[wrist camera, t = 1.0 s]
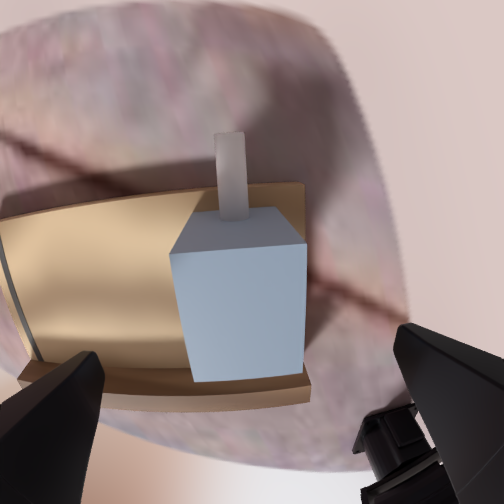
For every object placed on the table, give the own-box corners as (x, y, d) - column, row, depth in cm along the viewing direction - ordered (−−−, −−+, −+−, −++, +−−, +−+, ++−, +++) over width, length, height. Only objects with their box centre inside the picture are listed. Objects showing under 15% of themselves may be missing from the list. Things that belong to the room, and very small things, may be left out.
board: (296, 361, 19) (309, 402, 15) (46, 363, 18) (25, 394, 14) (297, 181, 15) (320, 191, 12) (-2, 219, 14) (-39, 236, 10)
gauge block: (277, 298, 16) (302, 372, 10) (203, 304, 16) (194, 382, 10) (271, 134, 13) (303, 121, 7) (186, 140, 13) (155, 130, 7)
